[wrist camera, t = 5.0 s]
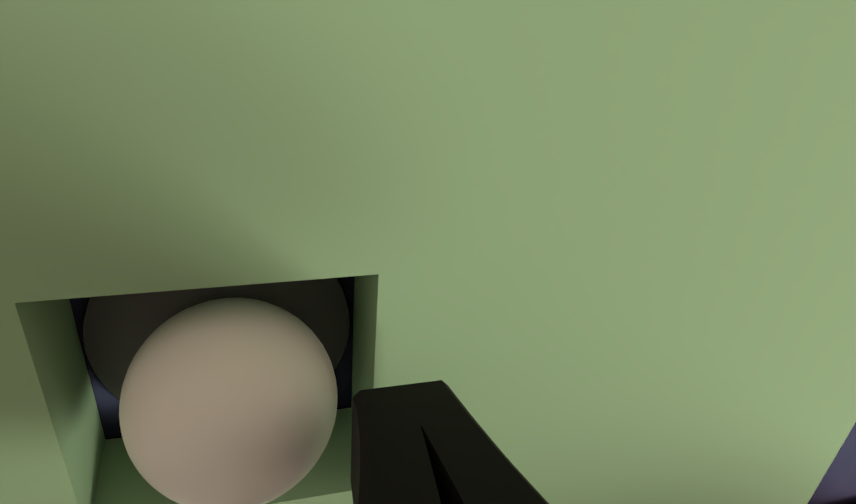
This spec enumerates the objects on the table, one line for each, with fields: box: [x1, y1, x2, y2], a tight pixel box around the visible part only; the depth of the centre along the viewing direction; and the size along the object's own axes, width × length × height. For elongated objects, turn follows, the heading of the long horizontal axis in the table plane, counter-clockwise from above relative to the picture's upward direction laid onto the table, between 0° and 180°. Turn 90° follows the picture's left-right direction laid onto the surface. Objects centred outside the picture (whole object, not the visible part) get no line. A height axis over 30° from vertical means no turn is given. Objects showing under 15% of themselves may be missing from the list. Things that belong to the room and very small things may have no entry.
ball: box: [119, 297, 338, 504], centre depth 10 cm, size 3×3×3 cm
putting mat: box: [0, 0, 856, 504], centre depth 12 cm, size 13×18×2 cm
